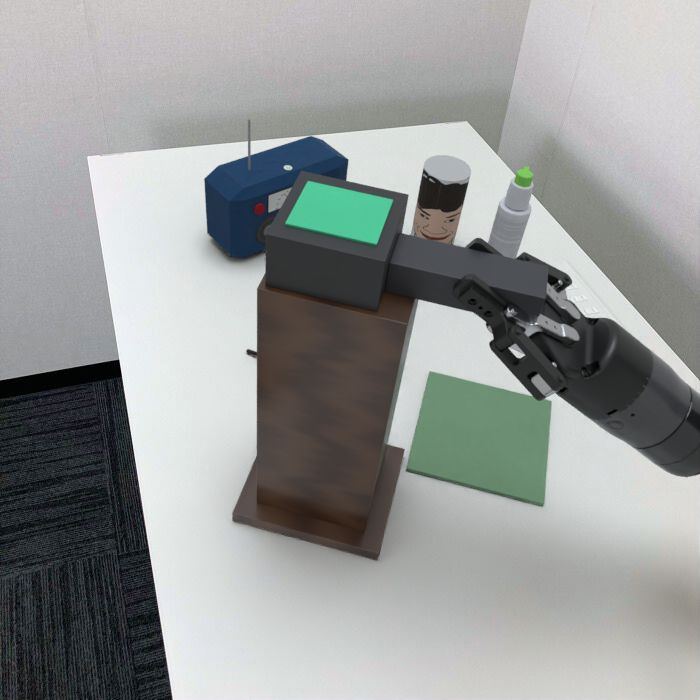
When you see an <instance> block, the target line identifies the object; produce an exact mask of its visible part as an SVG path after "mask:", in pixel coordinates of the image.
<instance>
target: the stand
mask: <svg viewBox="0 0 700 700" xmlns="http://www.w3.org/2000/svg"><path fill="white" fill-rule="evenodd" d="M419 301H420V300H418V299H414V298H410V297H405V296H401V295H397V294H393V293H388V292H385V291H384V293H383V296H382V299H381V302H380V305H379V308H378V311H377V312H375V311H371V310H366V309H362V308H358V307H354V306H350V305H345V304H341V303H337V302H333V301H329V300H324V299H320V298H316V297H312V296H308V295H303V294H299V293H295V292H291V291H287V290H282V289H278V288H274V287H270V286H266V285H265V273H264V275H263V276H262V279H261V280H260V282H259V284H258V286H257V288H256V352H257V356H256V456H255V459H254V461H253V462H252V466H251V467H250V470H249V473H248V474H247V477H246V479H245V483H244V485H243V487H242V489H241V491H240V494H239V496H238V499H237V501H236V504H235V506H234V508H233V510H232V514H231V515H232V516H231V517H232V521H233V522H236V523H240V524H243V525H247V526H251V527H254V528H257V529H262V530H265V531H269V532H272V533H276V534H279V535H284V536H286V537H291V538H294V539H298V540H302V541H305V542H309V543H312V544H316V545H320V546H324V547H326V548H330V549H334V550H337V551H341V552H345V553H348V554H353V555H355V556H360V557H363V558H367V559H370V560H374V561H378V560H379V556H380V552H381V548H382V544H383V540H384V536H385V532H386V528H387V524H388V520H389V517H390V513H391V512H390V511H391V509H392V504H393V499H394V496H395V492H396V487H397V483H398V480H399V475H400V472H401V468H402V464H403V458H404V455H405V451H406V449H405V448H402V447H399V446H396V445H391V444H389V441H390V436H391V430H392V426H393V422H394V417H395V412H396V407H397V402H398V398H399V395H400V389H401V385H402V380H403V375H404V371H405V367H406V361H407V357H408V351H409V348H410V347H409V346H410V343H411V342H410V341H411V338H412V332H413V329H414V323H415V319H416V314H417V310H418V305H419Z"/></svg>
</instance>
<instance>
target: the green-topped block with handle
mask: <svg viewBox="0 0 700 700" xmlns="http://www.w3.org/2000/svg"><path fill="white" fill-rule="evenodd" d="M408 202H409V194H407V193H403V192H399V191H395V190H390V189H385V188H380V187H376V186H371V185H367V184H362V183H359V182H354V181H349V180H346V181H345V180H340V179H336V178H331V177H327V176H322V175H318V174H313V173H308V172H304V171H301V172H300V174H299V176H298V178H297V179H296V181H295V183H294V185H293V187H292V188H291V190H290V192H289V194H288V196H287V197H286V199H285V201H284V203H283V205H282V206H281V208H280V210H279V212H278V214H277V215H276V217H275V219H274V221H273V222H272V224H271V226H270V228H269V230H268V231H267V233H266V250H265V271H264V272H265V273H264V274H265V285H266V286H270V287H274V288H278V289H282V290H287V291H291V292H295V293H299V294H303V295H308V296H312V297H316V298H320V299H324V300H329V301H333V302H337V303H341V304H345V305H350V306H354V307H358V308H362V309H366V310H371V311H375V312H377V311H378V308H379V305H380V302H381V299H382V296H383V293H384V291H385V292H388V293H393V294H397V295H401V296H405V297H410V298H414V299H418V300H419V301H423V302H427V303H432V304H436V305H440V306H444V307H449V308H453V309H457V310H461V311H466V312H470V313H474V312H473V311H471V310H470V309H469V308H467V307H466V306H464V305H463V304H462V303H461V302H460V300H458V299H457V298H456V297H454V296H453V294H452V292H453V287H454V285H455V284H456V283H457V282H458V281H459V280H461V279H462V278H463V277H464V276H465V275H467V274H474V275H476V276H477V277H478V278H480V279H481V280H482V281H483V282H485V283H486V284H487V285H489V286H490V287H491V288H492V289H493V290H495V291H496V292H497V293H499V294H500V295H501V296H502V297H504V298H505V299H506V300H507V303H506V307H507V306H508V305H513V306H515V307H517V308H519V309H521V310H522V311H524V312H525V313H526V314H528V315H537V316H539V315H540V313H541V310H542V308H543V305H544V302H545V300H546V292H547V281H548V270H549V267H548V266H544V265H540V264H535V263H531V262H527V261H522V260H518V259H513V258H509V257H504V256H500V255H496V254H491V253H487V252H482V251H478V250H473V249H469V248H465V247H466V246H460V245H455V244H454V245H451V244H447V243H443V242H438V241H434V240H429V239H425V238H420V237H416V236H412V235H411V234H407V233H403V230H404V223H405V218H406V214H407V207H408ZM474 314H475V313H474Z"/></svg>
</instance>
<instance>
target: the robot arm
mask: <svg viewBox="0 0 700 700" xmlns="http://www.w3.org/2000/svg"><path fill="white" fill-rule="evenodd" d="M464 247H465V248H469V249H473V250H478V251H482V252H487V253H491V254H496V255H500V256H503V255H502V254H501V253H500V252H498V251H497V250H496V249H495V248H493V247H492V246H491V245H490V244H488V241H486V240H485V239H483V238H481V237H476V238H474V239H472V240H471V241H470V242H469V243H468V244H466V245H465V246H464ZM504 257H505V256H504ZM515 259H518V260H522V261H527V262H531V263H535V264H540V265H544V266H548V267H549V270H548V281H547V292H546V300H545V302H544V305H543V308H542V310H541V313H540V315H539V316H537V315H528V314H526V313H525V312H524V311H522V310H521V309H519V308H517V307H515V306H513V305H508V306H507V307H506V303H507V300H506V299H505V298H504V297H502V296H501V295H500V294H499V293H497V292H496V291H495V290H493V289H492V288H491V287H490V286H489V285H487V284H486V283H485V282H483V281H482V280H481V279H480V278H478V277H477V276H476V275H474V274H467V275H465V276H464V277H463V278H462V279H461V280H459V281H458V282H457V283H456V284H455V285H454V287H453V292H452V294H453V296H454V297H456V298H457V299H458V300H460V302H461V303H462V304H463V305H464V306H466V307H467V308H469V309H470V310H471V311H473V312H474V314H475V315H476V316H477V317H479V318H480V319H482V320H483V321H484V322H485V326H486V327H485V328H486V329H487V330H488V332H489V333H490V334H492V340H490V341H489V343H488V346H489V348H490V350H491V352H492V353H493V354H494V355H495V356H496V357H497V358H498V359H499V360H500V362H501V363H502V364H503V365H504V366H505V367H506V368H507V369H508V371H509V372H510V373H511V374H512V375H513V376H514V377H515V378H516V379H517V380H518V381H519V383H520V384H521V385H522V386H523V387H524V388H525V390H527V392H528V393H529V394H530V396H533V397H534V398H535V399H536V400H538V401H541V400H543V399H547V398H549V397H551V396H552V395H554V394H555V395H556V396H558V397H559V398H561V399H562V400H564V401H565V402H566V403H568V404H569V405H570V406H571V407H573V408H574V409H576V410H577V411H578V412H579V413H581V414H582V415H584V416H585V417H586V418H588V419H589V420H590V421H592V422H593V423H594V424H595V425H597V426H598V427H600V428H601V429H602V430H604V431H605V432H606V433H608V434H609V435H610V436H612V437H614V438H617V439H618V440H620V441H622V442H624V443H625V444H627V445H628V446H630V447H631V448H632V449H634V450H635V451H636V452H638V453H639V454H640V455H641V456H643V457H645V458H646V459H647V460H649V461H650V462H651V463H653V464H654V465H656V466H657V467H659V468H660V469H661V470H663V471H665V472H666V473H668V474H670V475H673V476H675V477H680V478H688V477H689V478H691V477H696V476H698V475H700V392H698V391H697V390H696V389H695V388H693V387H692V386H691V385H690V384H688V383H687V382H686V381H685V380H684V379H682V378H681V376H680V375H679V374H678V373H677V372H676V371H675V370H674V369H673V367H671V366H670V365H669V364H668V363H667V362H666V361H665V360H664V359H663V358H661V357H660V356H659V355H657V354H656V353H655V352H654V351H652V350H651V349H650V348H649V347H647V346H646V345H645V344H643V342H641V341H640V340H639V339H638V338H636V337H635V336H633V334H631V333H630V332H629V331H628V330H626V329H625V328H624V327H623V326H621V325H620V324H619V323H618V322H617V321H615V320H614V319H612V318H608V317H588V316H585V314H584V313H583V312H582V311H581V310H580V308H578V306H577V304H575V303H574V302H573V301H571V299H568V295H567V291H566V289H567V288H568V287H570V286H571V285H572V284H573V279H572V278H571V276H570V275H569V274H568V273H566V272H564V271H563V270H561V269H559V268H557V267H555V266H553V265H551V264H549V263H547V262H545V261H543V260H541V259H539V258H537V257H536V256H533V255H531V254H530V253H528V252H526V251H523V252H522V253H520V254H519V255H517V256H516V258H515ZM473 312H472V313H473ZM511 349H512V350H514V351H516V352H518V353H520V354H522V355H523V356H521V357H517V356H516V355H515V354H514V353H513V351H512V350H511Z"/></svg>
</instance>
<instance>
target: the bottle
mask: <svg viewBox="0 0 700 700" xmlns="http://www.w3.org/2000/svg"><path fill="white" fill-rule="evenodd" d="M533 179H534V173H533V172H532V171H531V170H530V166H527V165H524V166H523V168H521V169H518V170H517V171H516V174H515V176H514V177H512V179H510V183H509V184H508V185H509V186H508V188H507V190H506V194H505V197H504V196H503V198H501V199H500V200H499V202H498V206H497V209H496V213H495V216H494V220H493V222H492V227H491V231H490V233H489V234H490V235H489V237H488V240H487V243H488V244H490V245H491V246H492V247H493V248H495V249H496V250H497V251H498V252H500V253H501V254H502V255H503V256H505V257H509V258H513V259H515V258H517V257H518V254H519V250H520V247H521V245H522V241H523V238H524V234H525V231H526V228H527V225H528V223H529V219H530V216H531V213H532V205H531V204H530V201H531V199H532V198H531V197H532V194H533V191H534V190H533V189H534V182H533Z"/></svg>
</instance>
